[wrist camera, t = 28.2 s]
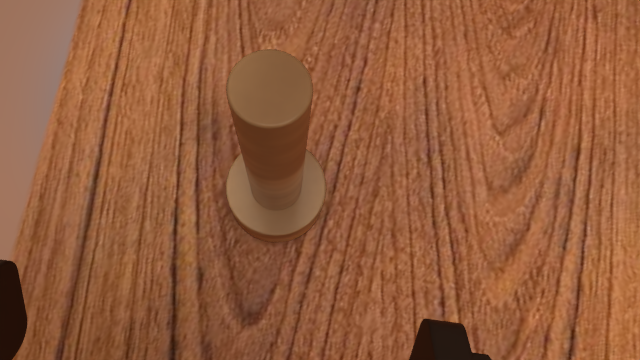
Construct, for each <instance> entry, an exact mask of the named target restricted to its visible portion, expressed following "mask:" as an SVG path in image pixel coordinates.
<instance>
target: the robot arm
mask: <svg viewBox="0 0 640 360" xmlns="http://www.w3.org/2000/svg"><path fill="white" fill-rule="evenodd" d="M26 329H27V315H26V310H25V304H24V299H23V294H22V289H21V284H20V279H19V273H18V269H17V266H16V264H15V263H14V262H12V261H7V260H0V360H12V359H13V357H14V356H15V355H16V353H17V352H18V350H19V348H20V347H21V345H22V342H23V340H24V337H25V334H26ZM409 360H491V358H490V357H489V356H488V355H486V354H478V353H472V352H471V348H470V344H469V341H468V337H467V333H466V330H465V327H464V326H463V324H461V323H453V322H446V321H439V320H431V319H423V321H422V322H421V325H420V328H419V331H418V334H417V337H416V340H415V343H414V346H413V349H412V353H411V356H410V359H409Z"/></svg>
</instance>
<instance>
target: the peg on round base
mask: <svg viewBox="0 0 640 360" xmlns="http://www.w3.org/2000/svg"><path fill="white" fill-rule="evenodd" d="M226 93H227V99H228V103H229V106H230V110H231V114H232V118H233V122H234V126H235V130H236V133H237V137H238V141H239V145H240V149H241V154H240V155H239V156H238V157H237V158H236V160H235V161H234V162H233V164H232V166H231V168H230V170H229V173H228V176H227V181H226V196H227V200H228V203H229V206H230V208H231V210H232V212H233V215H234V216H235V218H236V220H237V222H238V223H239V225H240V226H241V227H242V228H243V229H244V230H245V231H246V232H247V233H249V234H250V235H252V236H253V237H255V238H258V239H260V240H263V241H267V242H286V241H290V240H293V239H296V238H298V237H299V236H301V235H303V234H304V233H306V232H307V231H308V230H309V229H310V228H311V227H312V226H313V225H314V223H315V222H316V220H317V219H318V217H319V215H320V212H321V209H322V206H323V203H324V200H325V195H326V180H325V175H324V172H323V170H322V167H321V165H320V164H319V162H318V160H317V159H316V158H315V157H314V156H313V154H312V153H311V152H309V151H308V150H307V149H306V146H307V138H308V130H309V122H310V114H311V105H312V97H313V83H312V79H311V76H310V74H309V72H308V70H307V68H306V67H305V66H304V65H303V64H302V63H301V62H300V61H299V60H298V59H297V58H295V57H294V56H292V55H291V54H288V53H286V52H283V51H280V50H272V49H267V50H259V51H256V52H253V53H251V54H248V55H247V56H245V57H243V58H242V59H241V60H240V61H239V62H238V63H237V64H236V65H235V66H234V67H233V69H232V70H231V72H230V74H229V77H228V80H227V86H226Z"/></svg>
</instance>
